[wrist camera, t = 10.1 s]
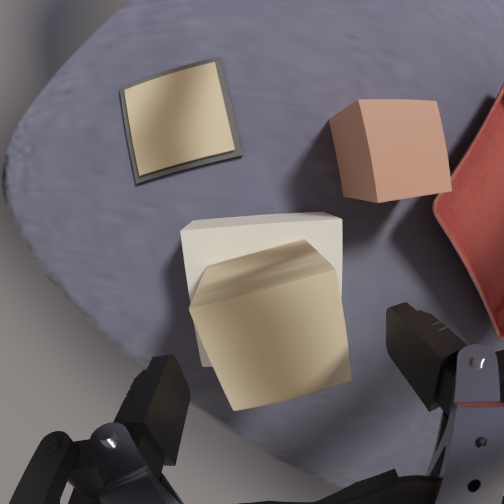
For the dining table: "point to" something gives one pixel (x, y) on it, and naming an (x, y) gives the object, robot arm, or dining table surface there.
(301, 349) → the maple cube
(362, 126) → the terracotta cube
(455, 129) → the dining table surface
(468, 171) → the plant saucer
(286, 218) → the base slab
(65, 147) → the dining table surface
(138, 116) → the tile
